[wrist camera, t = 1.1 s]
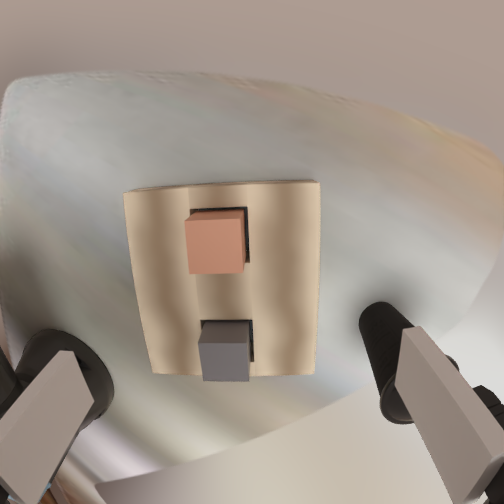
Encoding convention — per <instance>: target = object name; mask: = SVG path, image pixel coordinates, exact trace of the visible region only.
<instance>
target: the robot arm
mask: <svg viewBox="0 0 504 504" xmlns="http://www.w3.org/2000/svg"><path fill="white" fill-rule="evenodd" d="M395 387H396V389H397V391H398V392H399V394H400V396H401V398H402V400H403V402H404V404H405V406H406V408H407V410H408V411H409V413H410V415H411V417H412V419H413V421H414V423H415V425H416V427H417V429H418V431H419V433H420V435H421V437H422V439H423V441H424V443H425V445H426V447H427V449H428V451H429V453H430V455H431V457H432V459H433V461H434V463H435V465H436V468H437V470H438V472H439V474H440V476H441V478H442V480H443V482H444V485H445V487H446V489H447V491H448V493H449V496H450V498H451V500H452V502H453V504H472V503H474V502H476V501H477V500H478V499H479V498H480V496H481V495H482V494H483V492H484V491H485V493H486V495H487V496H488V499H487V500H486V501H485V502H484V504H504V405H503V404H501V401H500V400H499V399H498V398H497V396H496V395H495V394H494V393H493V392H492V391H490V390H488V389H487V388H485V387H484V386H482V385H480V386H477V387H475V388H471V386H470V385H469V384H468V383H467V381H466V380H465V379H464V378H463V376H462V375H461V374H460V373H459V371H458V370H457V369H456V368H455V367H454V365H453V364H452V363H451V362H450V360H449V359H448V358H447V357H446V356H445V354H444V353H443V352H442V351H441V350H440V349H439V347H438V346H437V345H436V344H435V343H434V341H433V340H432V339H431V338H430V337H429V336H428V334H427V333H426V332H425V331H424V330H423V329H422V327H421V326H417V327H412V328H407V329H403V332H402V340H401V347H400V354H399V361H398V368H397V374H396V380H395ZM113 395H114V389H113V383H112V380H111V377H110V375H109V373H108V371H107V369H106V367H105V366H104V364H103V363H102V362H101V360H100V359H99V358H98V357H97V355H96V354H95V353H94V352H93V351H92V350H91V349H90V348H89V347H87V346H86V345H85V344H84V343H82V342H81V341H80V340H78V339H77V338H75V337H73V336H71V335H69V334H67V333H65V332H62V331H58V330H43V331H41V332H39V333H37V334H36V335H35V336H34V337H33V338H32V339H31V340H30V341H29V342H28V343H27V344H26V346H25V348H24V351H23V355H22V357H21V359H20V361H19V363H18V366H17V368H16V370H15V372H14V370H13V369H12V367H11V365H10V363H9V362H8V360H7V358H6V356H5V354H4V352H3V350H2V349H1V347H0V504H10V502H9V501H8V500H7V498H9V499H12V500H14V501H16V502H17V503H18V504H37V503H38V502H39V501H40V499H41V498H42V496H43V495H44V493H45V492H46V490H47V489H48V488H50V487H51V483H52V481H53V479H54V477H55V475H56V473H57V472H58V470H59V468H60V466H61V464H62V462H63V460H64V459H65V457H66V455H67V453H68V451H69V449H70V448H71V446H72V444H73V442H74V440H75V439H76V437H77V435H78V434H79V432H80V431H81V430H83V429H84V428H85V427H87V426H88V425H89V424H90V423H91V422H92V421H93V420H96V419H98V418H99V417H101V416H102V415H103V414H104V413H105V412H106V410H107V409H108V407H109V405H110V403H111V402H112V399H113Z"/></svg>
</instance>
